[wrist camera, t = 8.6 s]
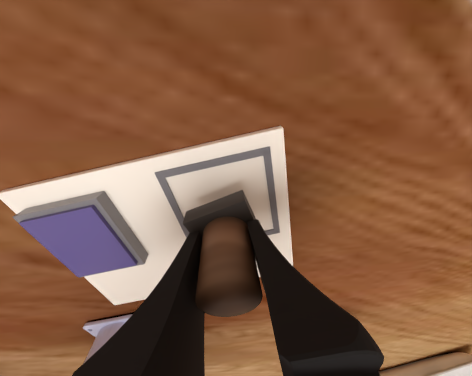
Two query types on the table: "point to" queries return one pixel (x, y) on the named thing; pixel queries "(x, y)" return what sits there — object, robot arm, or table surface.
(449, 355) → the square plate
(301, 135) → the table surface
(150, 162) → the board
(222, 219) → the stamp
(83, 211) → the ink pad
